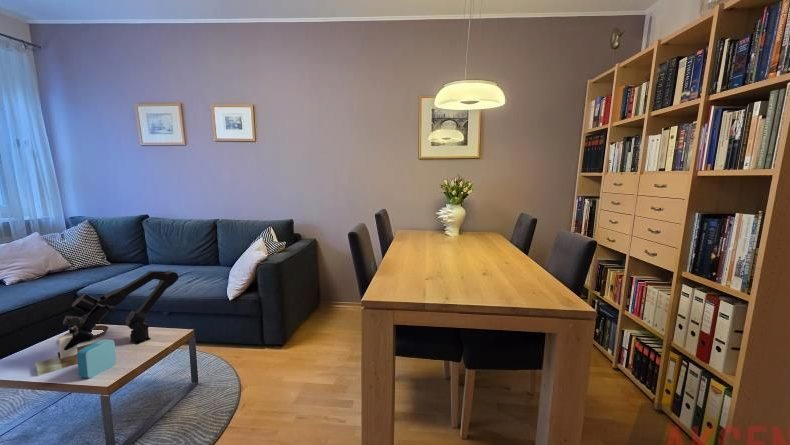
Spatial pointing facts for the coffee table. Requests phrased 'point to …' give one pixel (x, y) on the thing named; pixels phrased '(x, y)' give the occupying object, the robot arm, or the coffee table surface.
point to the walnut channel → (57, 362)
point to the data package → (96, 358)
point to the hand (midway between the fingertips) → (63, 348)
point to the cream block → (63, 342)
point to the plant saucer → (98, 327)
